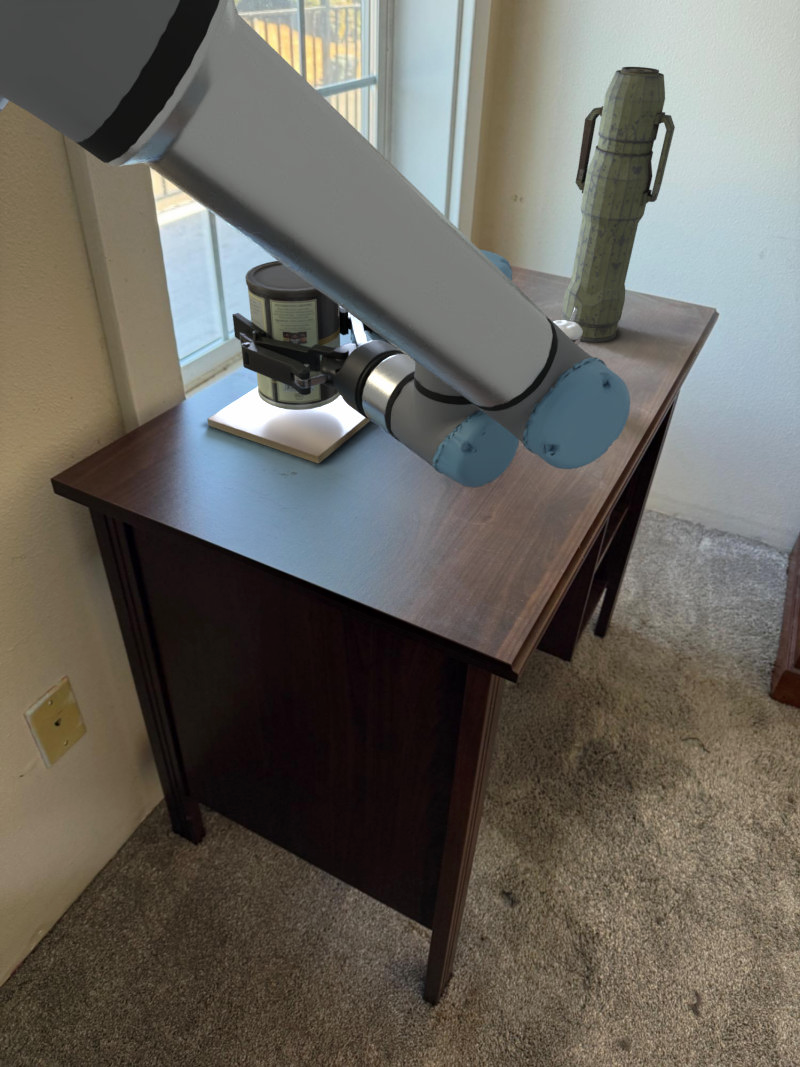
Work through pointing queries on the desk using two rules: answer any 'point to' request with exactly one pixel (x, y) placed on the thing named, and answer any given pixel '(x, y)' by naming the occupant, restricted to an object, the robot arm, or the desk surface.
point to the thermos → (615, 196)
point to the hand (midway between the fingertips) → (277, 315)
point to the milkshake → (571, 328)
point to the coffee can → (292, 327)
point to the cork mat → (290, 425)
